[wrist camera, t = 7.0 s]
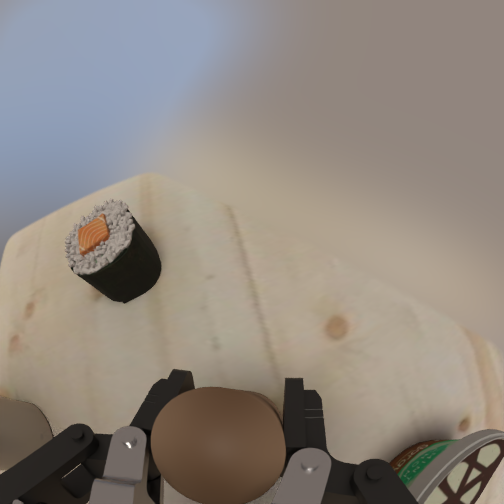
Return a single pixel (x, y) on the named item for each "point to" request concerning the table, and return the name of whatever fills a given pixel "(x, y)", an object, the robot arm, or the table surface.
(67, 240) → the sushi
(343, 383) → the table surface
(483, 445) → the food container
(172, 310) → the table surface
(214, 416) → the walnut cylinder
